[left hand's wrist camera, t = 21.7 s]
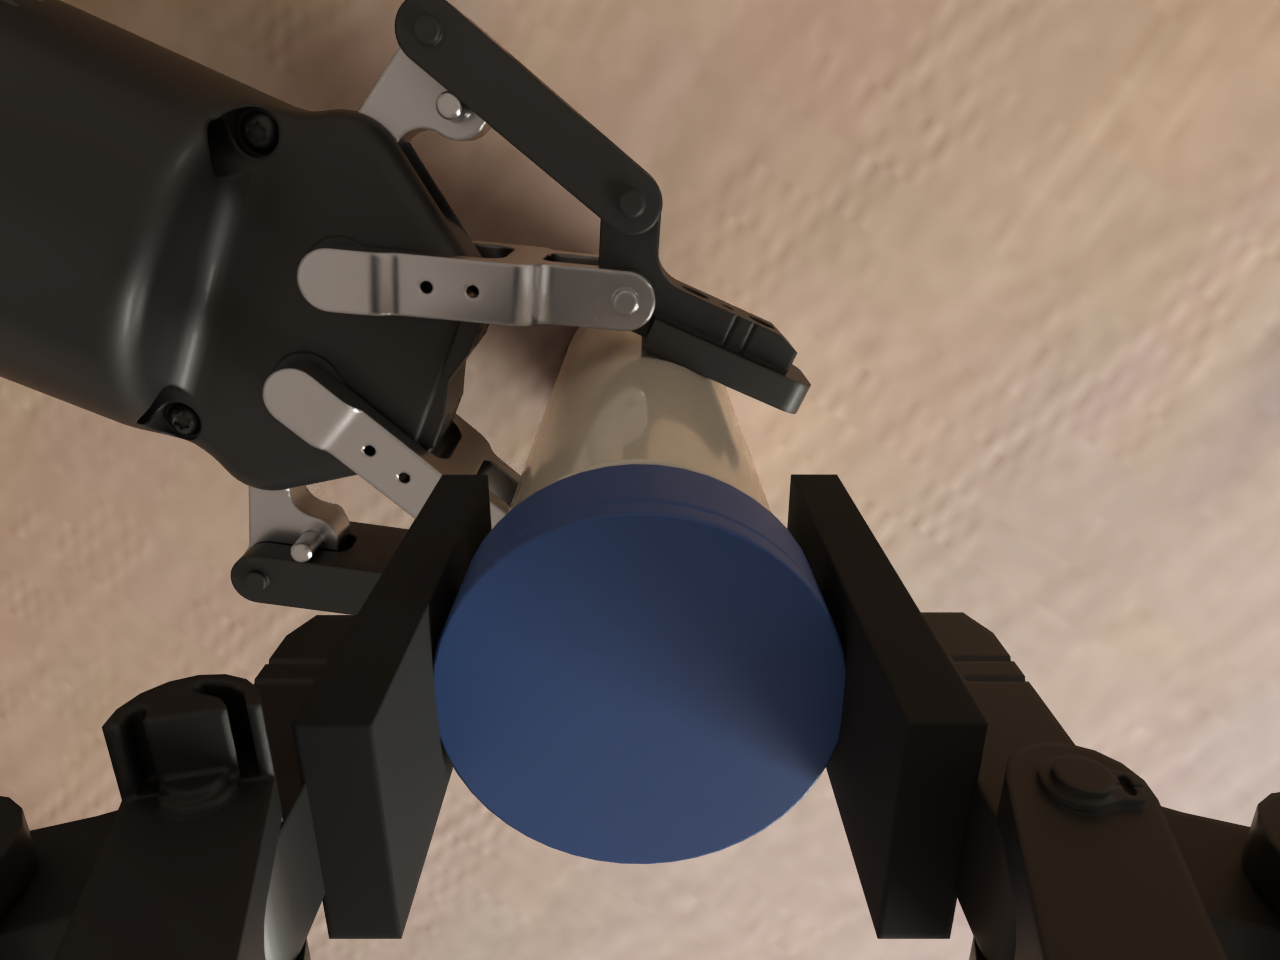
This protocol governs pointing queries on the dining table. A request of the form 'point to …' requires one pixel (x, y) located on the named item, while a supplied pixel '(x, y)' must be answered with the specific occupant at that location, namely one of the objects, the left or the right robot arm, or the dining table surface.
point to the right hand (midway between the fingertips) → (742, 489)
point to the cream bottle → (635, 418)
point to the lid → (639, 667)
